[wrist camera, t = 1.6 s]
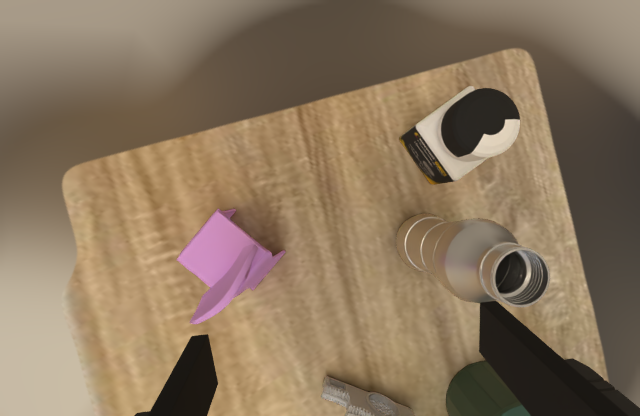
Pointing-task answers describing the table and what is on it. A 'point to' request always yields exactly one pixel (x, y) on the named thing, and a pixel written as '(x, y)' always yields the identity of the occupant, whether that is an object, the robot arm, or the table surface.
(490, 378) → the pot
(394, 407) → the lattice window wall
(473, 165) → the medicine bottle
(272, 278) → the table surface
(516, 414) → the pot lid
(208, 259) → the toy chair
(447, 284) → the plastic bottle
